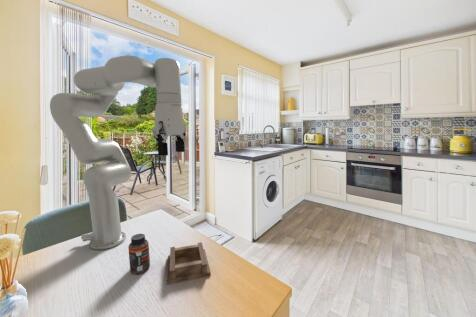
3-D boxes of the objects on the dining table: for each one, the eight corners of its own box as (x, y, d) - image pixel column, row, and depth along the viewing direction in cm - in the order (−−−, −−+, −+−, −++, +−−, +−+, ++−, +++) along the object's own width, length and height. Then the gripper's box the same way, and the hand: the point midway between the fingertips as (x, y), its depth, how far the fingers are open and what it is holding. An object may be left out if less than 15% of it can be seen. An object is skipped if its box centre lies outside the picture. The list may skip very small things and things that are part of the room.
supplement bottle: (145, 275, 66) (142, 241, 64) (126, 274, 66) (123, 241, 64) (153, 262, 72) (151, 231, 70) (136, 262, 72) (133, 231, 70)
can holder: (166, 284, 62) (166, 272, 61) (168, 258, 74) (167, 247, 73) (210, 275, 65) (210, 263, 65) (204, 251, 78) (204, 241, 77)
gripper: (174, 103, 76) (176, 150, 79) (140, 97, 60) (144, 156, 63) (192, 103, 74) (194, 150, 77) (162, 96, 58) (166, 157, 60)
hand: (172, 153), depth 70 cm, fingers open, 9 cm apart
